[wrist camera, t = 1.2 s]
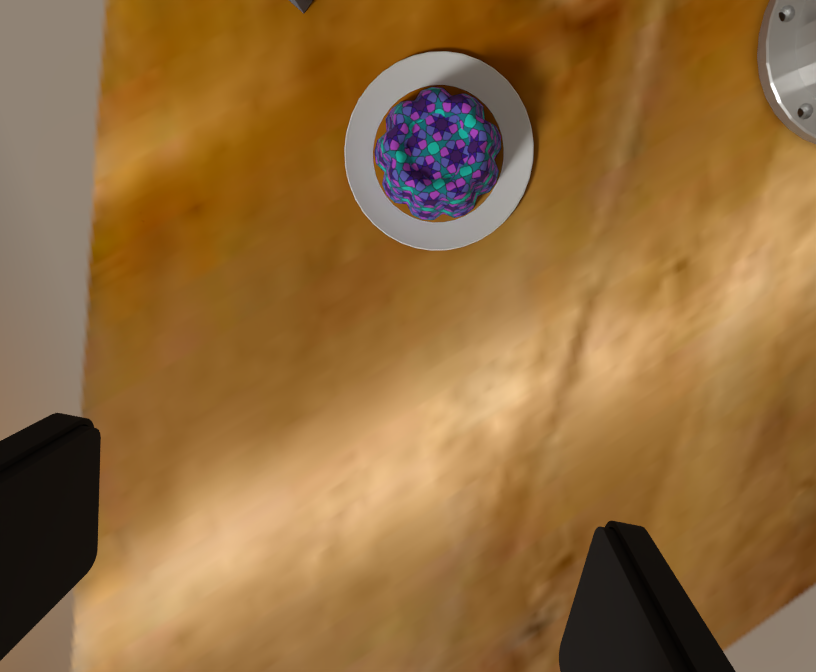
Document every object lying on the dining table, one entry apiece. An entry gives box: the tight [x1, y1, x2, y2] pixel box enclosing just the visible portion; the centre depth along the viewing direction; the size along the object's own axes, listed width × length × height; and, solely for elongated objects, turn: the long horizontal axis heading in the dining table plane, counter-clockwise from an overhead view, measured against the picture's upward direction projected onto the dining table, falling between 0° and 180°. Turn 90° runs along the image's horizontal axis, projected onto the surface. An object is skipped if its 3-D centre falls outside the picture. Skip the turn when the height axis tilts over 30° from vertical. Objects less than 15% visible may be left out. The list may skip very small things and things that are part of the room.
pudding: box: [344, 51, 534, 250], centre depth 31 cm, size 12×12×5 cm
